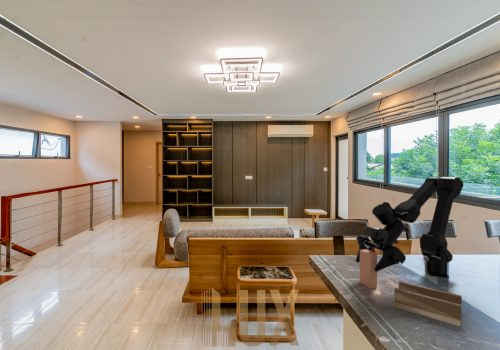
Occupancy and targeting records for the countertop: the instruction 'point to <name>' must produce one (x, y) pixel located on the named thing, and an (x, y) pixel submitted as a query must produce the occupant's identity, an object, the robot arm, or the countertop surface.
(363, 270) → the salmon orange rectangular block
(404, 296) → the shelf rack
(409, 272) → the countertop surface
